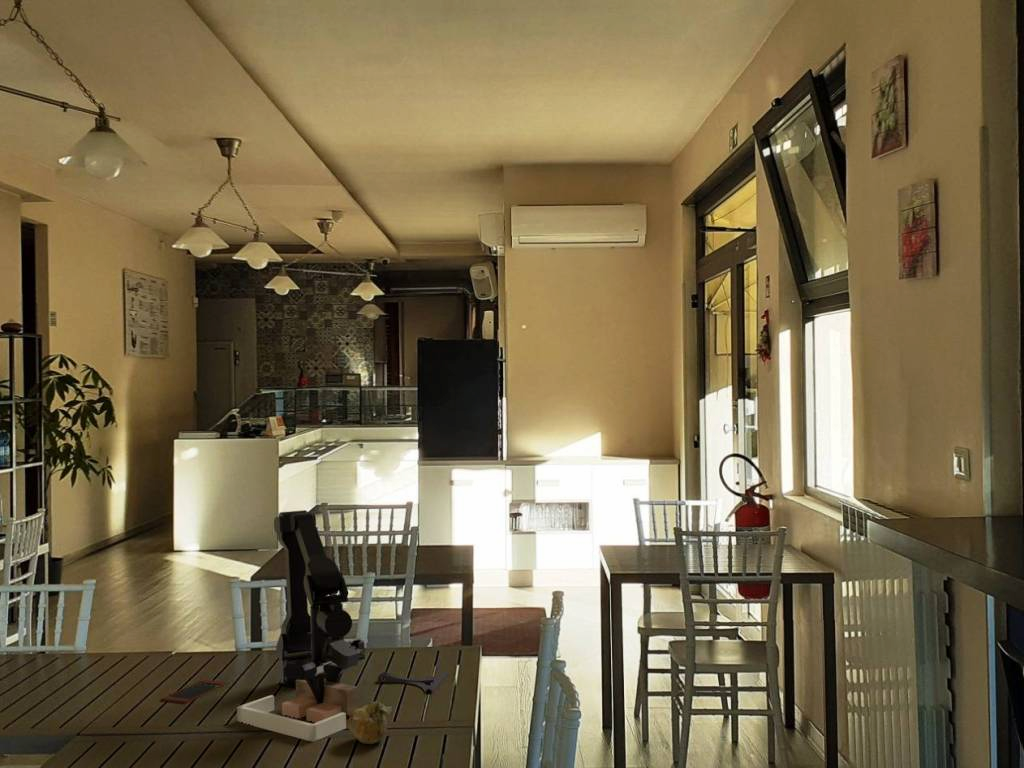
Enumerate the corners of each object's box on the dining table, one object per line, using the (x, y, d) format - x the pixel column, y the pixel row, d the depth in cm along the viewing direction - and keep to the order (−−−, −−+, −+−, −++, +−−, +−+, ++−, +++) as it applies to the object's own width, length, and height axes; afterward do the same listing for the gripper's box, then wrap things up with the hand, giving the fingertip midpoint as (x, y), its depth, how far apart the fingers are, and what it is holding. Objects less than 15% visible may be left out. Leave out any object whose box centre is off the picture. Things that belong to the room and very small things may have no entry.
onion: (378, 731, 200) (377, 691, 200) (395, 743, 193) (394, 701, 193) (342, 739, 196) (341, 698, 196) (359, 752, 189) (358, 709, 189)
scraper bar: (296, 703, 216) (295, 680, 216) (306, 699, 218) (305, 676, 218) (347, 714, 207) (346, 690, 207) (357, 710, 210) (356, 686, 210)
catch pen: (237, 721, 207) (237, 707, 207) (271, 709, 215) (270, 695, 215) (313, 741, 195) (312, 726, 195) (346, 728, 202) (345, 713, 202)
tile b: (306, 721, 207) (306, 709, 207) (324, 714, 211) (323, 702, 211) (324, 725, 204) (323, 713, 204) (341, 718, 208) (341, 706, 208)
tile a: (282, 715, 211) (281, 703, 211) (299, 708, 215) (299, 696, 215) (298, 719, 208) (298, 707, 208) (316, 712, 212) (316, 700, 212)
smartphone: (159, 698, 222) (203, 679, 236) (159, 702, 222) (203, 683, 236) (185, 701, 219) (228, 681, 233) (185, 705, 219) (228, 686, 233)
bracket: (388, 675, 240) (387, 663, 240) (448, 677, 237) (448, 665, 237) (368, 694, 226) (368, 682, 226) (432, 696, 223) (432, 684, 223)
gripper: (319, 643, 200) (321, 721, 200) (382, 622, 216) (384, 695, 216) (280, 635, 207) (282, 711, 207) (344, 616, 222) (346, 687, 222)
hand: (326, 701), depth 213 cm, fingers closed on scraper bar, 3 cm apart
